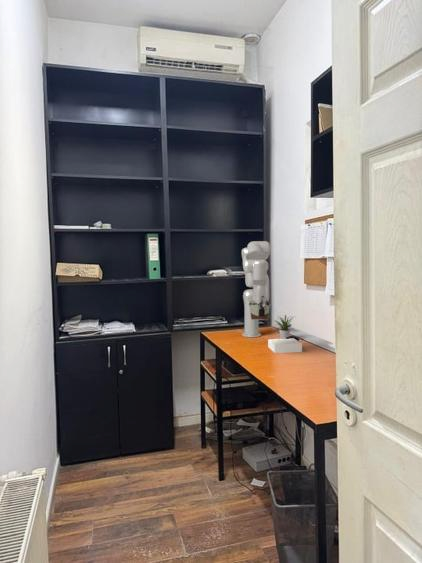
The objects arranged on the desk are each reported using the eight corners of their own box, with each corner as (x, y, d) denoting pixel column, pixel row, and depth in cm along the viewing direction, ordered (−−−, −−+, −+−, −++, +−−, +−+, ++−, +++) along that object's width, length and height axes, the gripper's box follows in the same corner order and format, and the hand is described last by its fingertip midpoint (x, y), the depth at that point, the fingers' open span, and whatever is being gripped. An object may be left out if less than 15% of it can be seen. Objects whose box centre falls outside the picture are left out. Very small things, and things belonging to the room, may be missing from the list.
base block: (268, 347, 230) (268, 339, 230) (293, 346, 232) (293, 338, 232) (274, 353, 217) (274, 345, 216) (301, 352, 218) (302, 344, 218)
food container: (269, 317, 217) (270, 300, 216) (270, 320, 211) (270, 302, 210) (248, 317, 218) (248, 300, 217) (248, 319, 212) (248, 302, 211)
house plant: (290, 335, 259) (290, 311, 257) (301, 340, 246) (301, 315, 244) (271, 337, 254) (271, 313, 253) (281, 342, 241) (281, 316, 240)
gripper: (248, 281, 219) (248, 312, 221) (258, 284, 202) (258, 318, 204) (261, 281, 221) (261, 312, 222) (271, 284, 204) (271, 317, 206)
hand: (259, 314), depth 213 cm, fingers closed on food container, 5 cm apart
